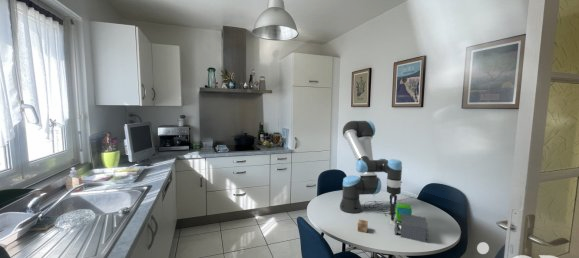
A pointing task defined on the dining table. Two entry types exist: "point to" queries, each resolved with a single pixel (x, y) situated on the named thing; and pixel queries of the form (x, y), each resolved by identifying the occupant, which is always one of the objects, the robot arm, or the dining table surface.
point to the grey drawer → (397, 227)
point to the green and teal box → (402, 210)
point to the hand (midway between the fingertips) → (392, 224)
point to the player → (414, 227)
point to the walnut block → (362, 226)
